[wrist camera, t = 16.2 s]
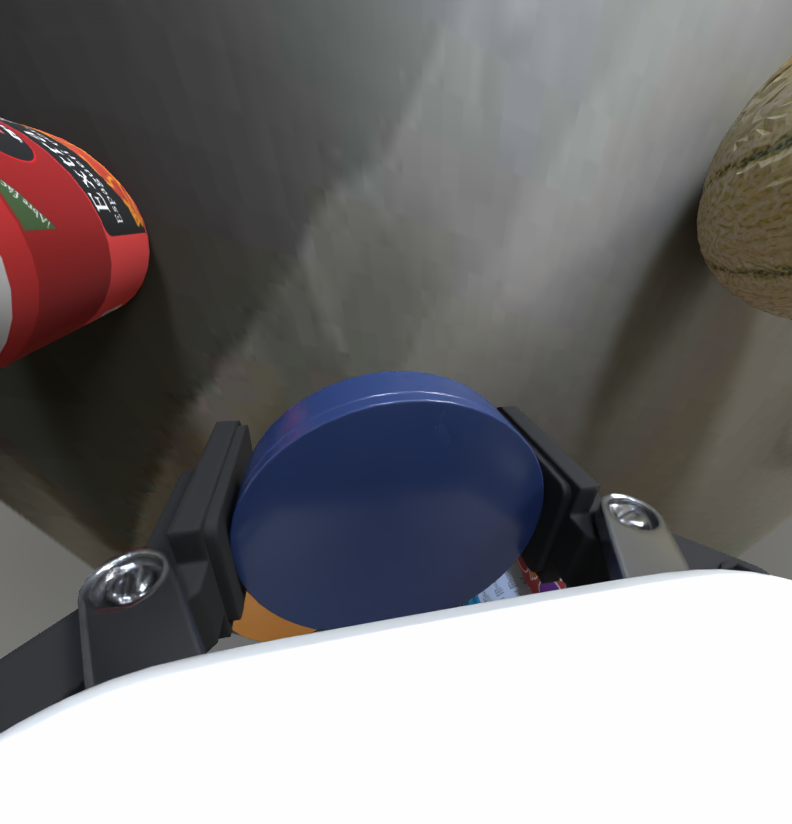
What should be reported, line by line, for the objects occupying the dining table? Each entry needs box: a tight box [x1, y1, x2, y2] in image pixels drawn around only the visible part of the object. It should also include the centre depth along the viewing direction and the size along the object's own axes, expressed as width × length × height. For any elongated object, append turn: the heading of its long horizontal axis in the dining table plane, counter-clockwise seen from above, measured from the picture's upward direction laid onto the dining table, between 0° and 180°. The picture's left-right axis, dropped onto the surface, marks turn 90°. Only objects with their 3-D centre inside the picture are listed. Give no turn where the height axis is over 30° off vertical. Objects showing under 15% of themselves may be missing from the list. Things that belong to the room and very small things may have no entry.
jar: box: [232, 591, 316, 642], centre depth 24 cm, size 7×7×9 cm
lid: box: [230, 371, 544, 631], centre depth 9 cm, size 7×7×2 cm
